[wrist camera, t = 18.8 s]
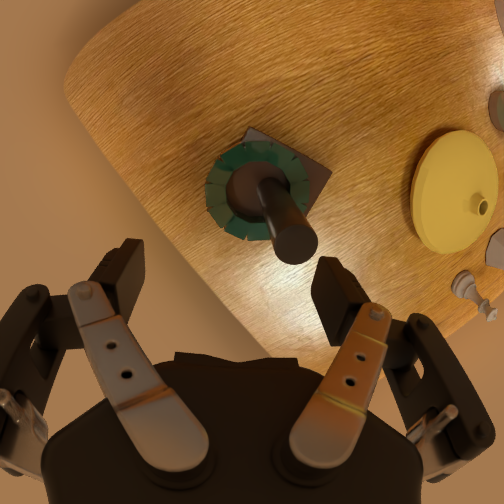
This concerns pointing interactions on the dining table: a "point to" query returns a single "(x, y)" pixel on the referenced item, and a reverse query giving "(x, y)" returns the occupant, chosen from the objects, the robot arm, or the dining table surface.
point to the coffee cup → (497, 109)
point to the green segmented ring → (235, 159)
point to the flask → (496, 250)
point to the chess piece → (472, 294)
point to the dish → (500, 12)
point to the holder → (278, 202)
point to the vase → (453, 192)
